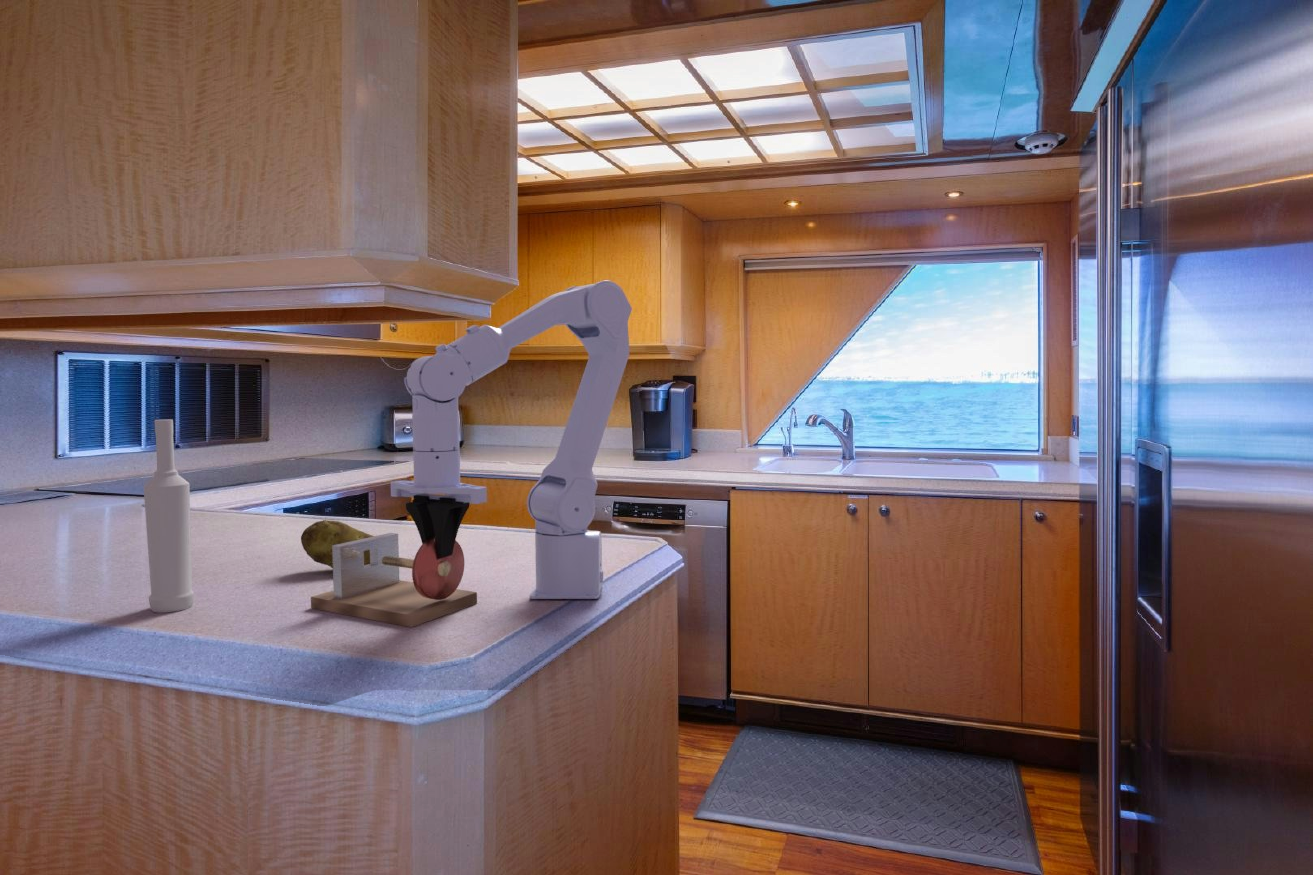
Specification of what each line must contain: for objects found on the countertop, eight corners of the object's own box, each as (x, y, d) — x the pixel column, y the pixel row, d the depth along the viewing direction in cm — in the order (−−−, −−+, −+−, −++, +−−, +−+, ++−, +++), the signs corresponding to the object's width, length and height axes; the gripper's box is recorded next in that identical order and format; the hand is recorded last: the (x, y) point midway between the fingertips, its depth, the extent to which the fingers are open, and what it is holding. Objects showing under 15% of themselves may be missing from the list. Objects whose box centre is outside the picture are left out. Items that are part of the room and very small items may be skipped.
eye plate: (333, 598, 106) (332, 545, 105) (391, 581, 115) (390, 532, 114) (341, 599, 105) (340, 546, 105) (399, 582, 114) (398, 533, 113)
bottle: (185, 599, 111) (177, 418, 109) (201, 606, 107) (193, 419, 106) (143, 608, 107) (134, 420, 105) (158, 615, 103) (148, 421, 102)
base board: (311, 607, 107) (310, 596, 106) (381, 587, 117) (380, 577, 117) (411, 627, 98) (411, 615, 98) (477, 603, 109) (476, 592, 109)
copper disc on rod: (360, 596, 105) (358, 535, 104) (405, 582, 112) (404, 525, 111) (423, 607, 100) (421, 543, 99) (466, 591, 107) (465, 532, 106)
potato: (372, 577, 123) (370, 526, 122) (293, 575, 125) (291, 524, 124) (396, 565, 131) (395, 516, 131) (322, 563, 133) (321, 515, 132)
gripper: (371, 450, 102) (374, 555, 103) (458, 455, 95) (460, 567, 96) (412, 446, 108) (414, 545, 109) (497, 450, 102) (498, 556, 103)
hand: (438, 555), depth 103 cm, fingers closed on copper disc on rod
